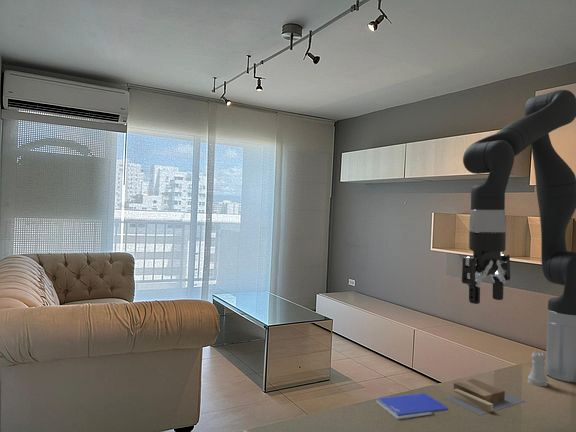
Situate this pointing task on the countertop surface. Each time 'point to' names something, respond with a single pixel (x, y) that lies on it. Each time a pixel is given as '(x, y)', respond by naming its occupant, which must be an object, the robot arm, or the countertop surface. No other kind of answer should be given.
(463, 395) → the beech rail
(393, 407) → the hard drive
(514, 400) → the charcoal mat
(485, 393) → the walnut board
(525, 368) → the countertop surface
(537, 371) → the rook chess piece
